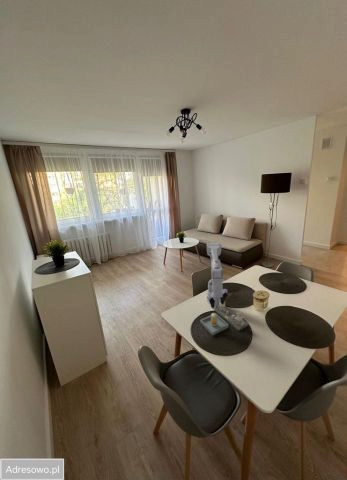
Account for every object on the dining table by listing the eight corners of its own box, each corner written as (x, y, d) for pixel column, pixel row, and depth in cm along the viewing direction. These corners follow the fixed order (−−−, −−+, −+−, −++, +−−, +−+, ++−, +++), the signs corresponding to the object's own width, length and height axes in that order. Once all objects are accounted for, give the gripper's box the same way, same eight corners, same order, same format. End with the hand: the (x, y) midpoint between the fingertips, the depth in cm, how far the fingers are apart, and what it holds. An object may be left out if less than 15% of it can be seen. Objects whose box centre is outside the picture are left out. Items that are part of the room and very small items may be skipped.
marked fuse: (210, 323, 116) (209, 314, 114) (214, 321, 117) (214, 312, 115) (213, 327, 113) (213, 317, 111) (218, 325, 114) (218, 315, 112)
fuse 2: (234, 322, 115) (235, 312, 113) (239, 319, 116) (239, 310, 114) (239, 325, 112) (239, 315, 110) (243, 323, 113) (243, 313, 111)
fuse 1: (218, 308, 128) (218, 299, 126) (222, 306, 129) (222, 298, 127) (222, 311, 125) (222, 302, 123) (226, 309, 126) (226, 300, 124)
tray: (200, 323, 118) (200, 320, 117) (215, 316, 123) (215, 313, 122) (212, 336, 108) (212, 332, 107) (228, 327, 113) (228, 324, 112)
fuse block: (214, 310, 129) (214, 306, 128) (223, 306, 132) (223, 302, 131) (238, 331, 110) (238, 326, 109) (248, 325, 113) (248, 321, 112)
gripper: (211, 293, 108) (212, 313, 112) (230, 286, 114) (230, 304, 118) (204, 288, 114) (205, 307, 118) (223, 281, 120) (223, 299, 124)
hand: (217, 305), depth 119 cm, fingers open, 7 cm apart
